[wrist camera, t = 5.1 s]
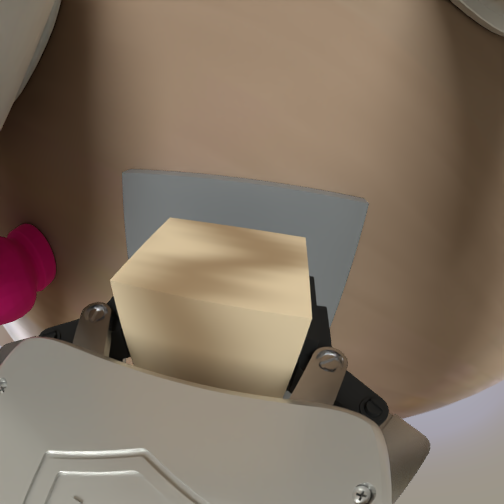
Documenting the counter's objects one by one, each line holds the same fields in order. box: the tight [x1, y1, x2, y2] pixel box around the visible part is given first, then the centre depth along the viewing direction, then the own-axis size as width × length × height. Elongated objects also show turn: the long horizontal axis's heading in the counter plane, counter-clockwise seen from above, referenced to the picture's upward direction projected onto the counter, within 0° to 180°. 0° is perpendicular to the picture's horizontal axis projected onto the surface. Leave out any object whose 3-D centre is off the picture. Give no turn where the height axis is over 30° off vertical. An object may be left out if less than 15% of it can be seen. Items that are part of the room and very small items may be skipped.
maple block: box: [110, 218, 312, 399], centre depth 11 cm, size 6×6×5 cm
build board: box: [122, 169, 369, 399], centre depth 20 cm, size 14×25×1 cm, turn 174°
